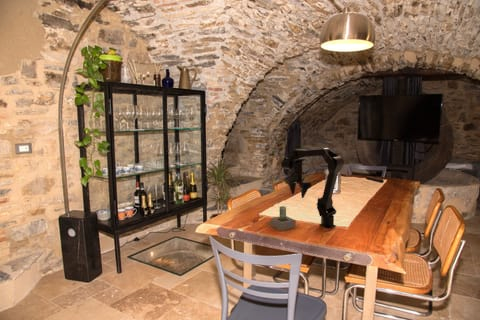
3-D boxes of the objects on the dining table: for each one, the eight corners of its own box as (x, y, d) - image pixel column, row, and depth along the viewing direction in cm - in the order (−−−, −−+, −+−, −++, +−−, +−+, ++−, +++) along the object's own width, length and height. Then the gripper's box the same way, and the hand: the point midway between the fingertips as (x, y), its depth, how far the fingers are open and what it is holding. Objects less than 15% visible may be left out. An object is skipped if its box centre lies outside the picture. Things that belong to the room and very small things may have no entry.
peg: (287, 225, 178) (287, 207, 176) (282, 226, 176) (282, 208, 174) (283, 223, 181) (283, 205, 179) (278, 224, 179) (278, 206, 178)
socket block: (295, 227, 176) (295, 220, 176) (280, 230, 172) (280, 223, 171) (284, 222, 185) (284, 215, 185) (270, 225, 181) (270, 218, 180)
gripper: (277, 169, 193) (277, 194, 196) (296, 174, 177) (296, 201, 179) (292, 167, 198) (292, 192, 201) (312, 172, 182) (312, 198, 184)
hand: (297, 196), depth 191 cm, fingers open, 9 cm apart
